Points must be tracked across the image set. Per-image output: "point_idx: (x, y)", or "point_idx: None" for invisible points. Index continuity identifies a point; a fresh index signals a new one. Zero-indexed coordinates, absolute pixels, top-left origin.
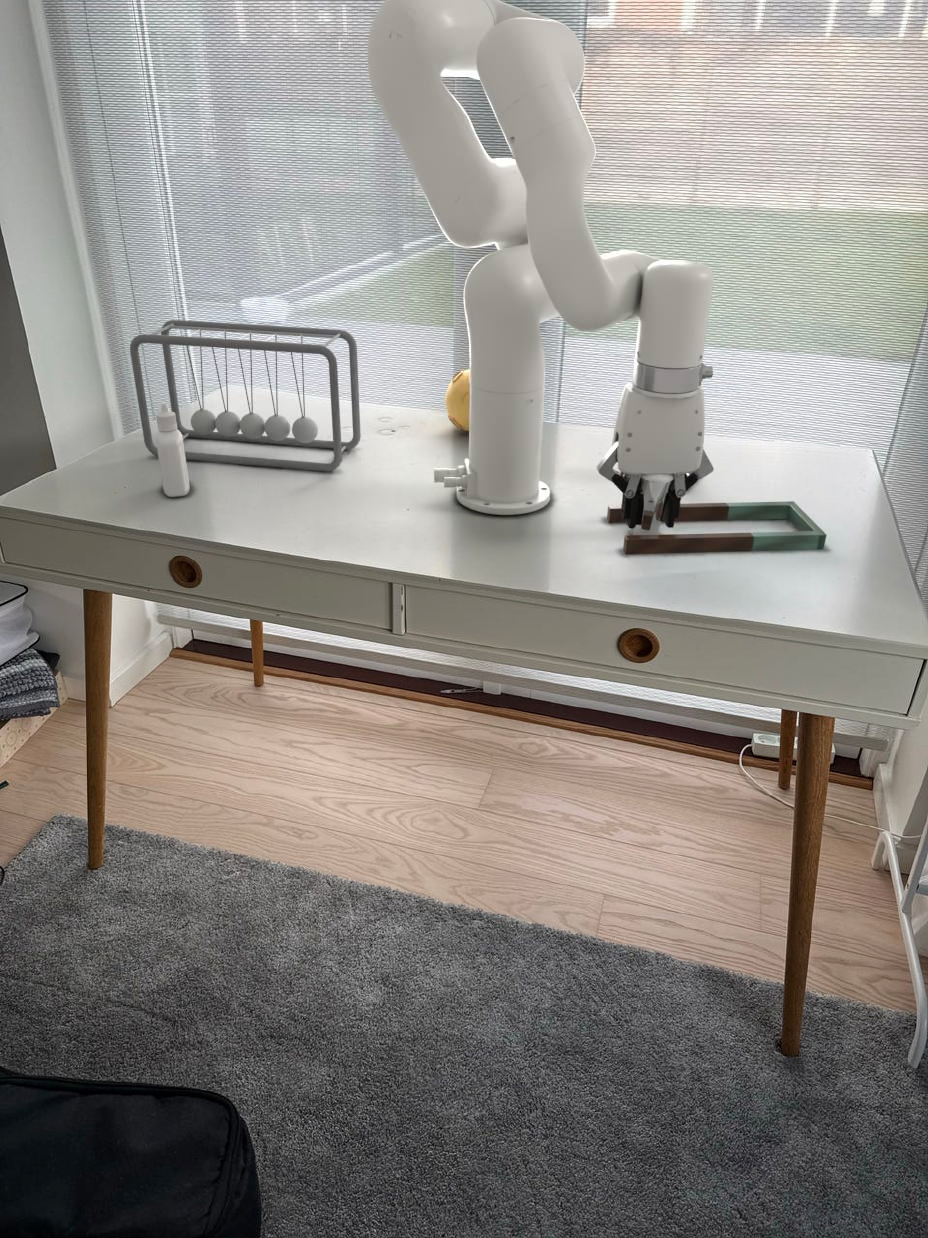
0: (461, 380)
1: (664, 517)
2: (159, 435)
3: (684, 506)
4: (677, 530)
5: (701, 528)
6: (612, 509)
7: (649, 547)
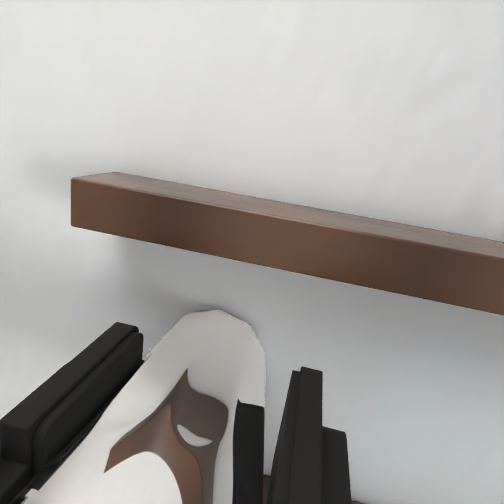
0: None
1: (282, 422)
2: None
3: (493, 303)
4: (376, 352)
5: (501, 366)
6: (84, 228)
7: None
